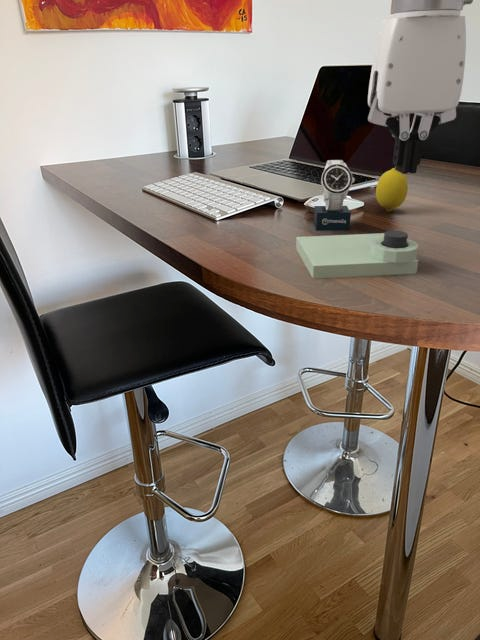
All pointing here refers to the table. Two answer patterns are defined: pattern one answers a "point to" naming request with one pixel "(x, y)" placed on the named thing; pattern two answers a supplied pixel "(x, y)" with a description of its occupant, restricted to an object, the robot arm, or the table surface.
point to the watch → (334, 198)
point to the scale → (355, 256)
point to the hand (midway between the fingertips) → (405, 171)
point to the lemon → (391, 189)
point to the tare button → (395, 239)
